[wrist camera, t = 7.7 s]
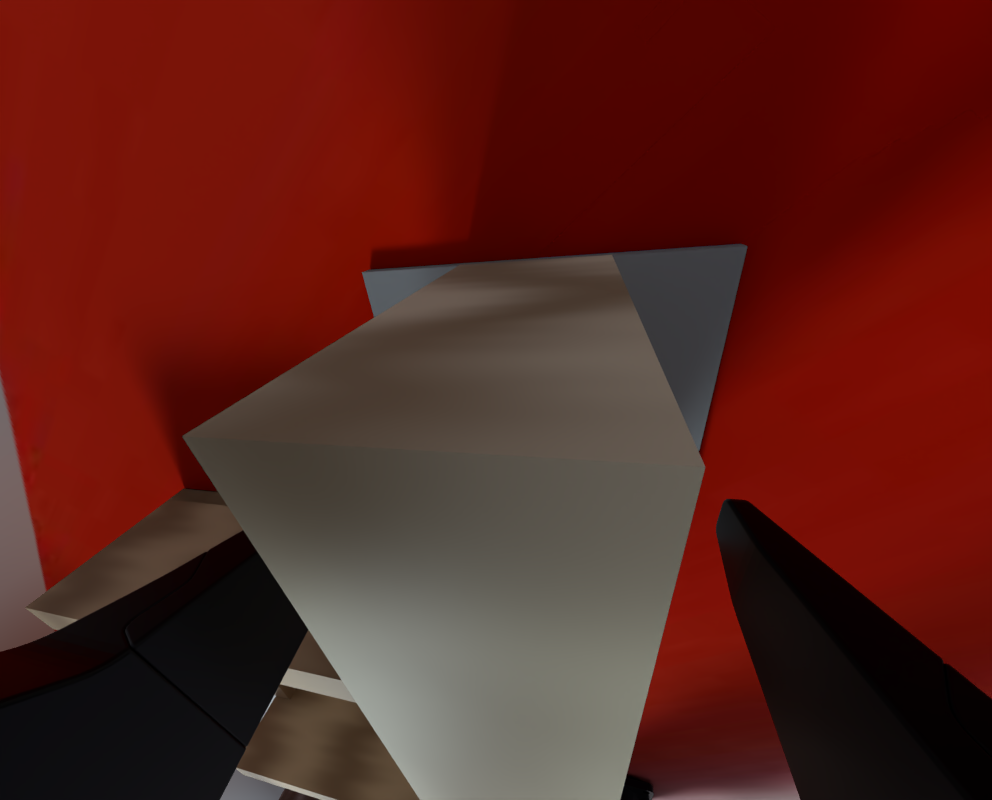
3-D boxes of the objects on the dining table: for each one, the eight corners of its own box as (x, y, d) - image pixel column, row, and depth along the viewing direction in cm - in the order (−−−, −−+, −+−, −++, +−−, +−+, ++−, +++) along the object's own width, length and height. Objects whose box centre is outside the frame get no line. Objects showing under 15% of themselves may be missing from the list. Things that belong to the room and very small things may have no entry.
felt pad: (741, 243, 8) (747, 246, 8) (676, 529, 13) (678, 538, 13) (368, 269, 11) (361, 272, 10) (430, 505, 16) (427, 512, 15)
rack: (443, 514, 16) (369, 687, 10) (488, 702, 25) (462, 845, 20) (183, 488, 19) (25, 607, 14) (308, 662, 29) (243, 774, 23)
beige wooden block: (612, 254, 9) (705, 467, 2) (594, 529, 14) (605, 855, 7) (459, 264, 10) (181, 436, 3) (494, 519, 15) (419, 799, 8)
